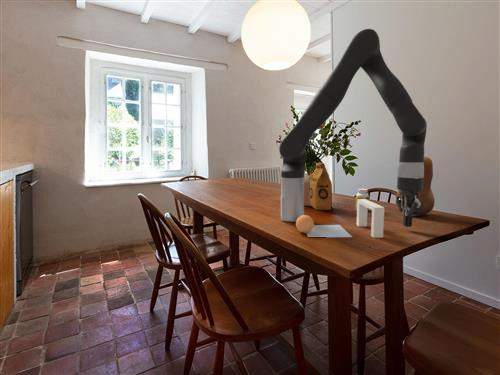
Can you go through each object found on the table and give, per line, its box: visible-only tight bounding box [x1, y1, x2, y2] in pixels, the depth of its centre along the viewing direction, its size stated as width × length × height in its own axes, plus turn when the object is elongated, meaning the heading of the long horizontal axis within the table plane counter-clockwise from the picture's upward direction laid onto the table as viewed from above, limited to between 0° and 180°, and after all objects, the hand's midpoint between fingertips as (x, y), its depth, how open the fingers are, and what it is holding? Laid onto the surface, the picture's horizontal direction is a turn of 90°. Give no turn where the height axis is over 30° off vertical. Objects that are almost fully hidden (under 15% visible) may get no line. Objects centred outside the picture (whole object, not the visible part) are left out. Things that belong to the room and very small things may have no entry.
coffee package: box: [308, 162, 333, 211], centre depth 132 cm, size 10×12×22 cm
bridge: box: [356, 199, 385, 239], centre depth 94 cm, size 3×15×10 cm, turn 178°
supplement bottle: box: [355, 188, 370, 212], centre depth 126 cm, size 5×5×10 cm
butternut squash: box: [395, 155, 435, 217], centre depth 115 cm, size 14×13×25 cm
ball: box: [295, 214, 315, 234], centre depth 93 cm, size 6×6×6 cm
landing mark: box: [305, 224, 353, 238], centre depth 95 cm, size 14×14×1 cm
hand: (407, 226), depth 94 cm, fingers closed
